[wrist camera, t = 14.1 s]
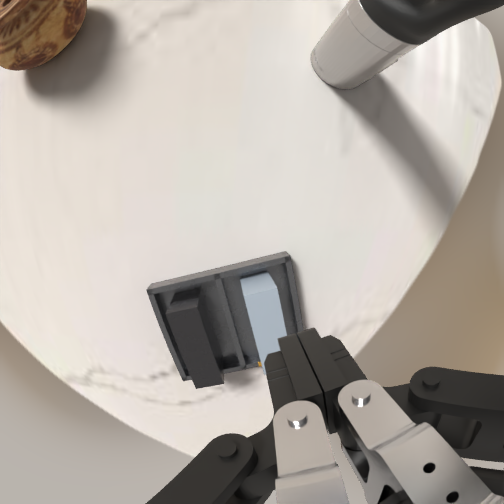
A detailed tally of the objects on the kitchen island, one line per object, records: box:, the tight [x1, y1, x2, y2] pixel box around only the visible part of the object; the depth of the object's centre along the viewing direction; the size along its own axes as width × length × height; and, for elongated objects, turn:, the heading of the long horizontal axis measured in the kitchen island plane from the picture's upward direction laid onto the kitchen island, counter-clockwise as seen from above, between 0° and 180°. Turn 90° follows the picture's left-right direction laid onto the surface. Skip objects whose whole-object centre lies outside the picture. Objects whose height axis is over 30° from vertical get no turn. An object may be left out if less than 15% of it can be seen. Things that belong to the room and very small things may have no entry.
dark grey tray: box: [147, 251, 304, 389], centre depth 36 cm, size 20×16×8 cm
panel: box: [240, 271, 287, 375], centre depth 36 cm, size 4×12×7 cm, turn 13°
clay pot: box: [0, 0, 87, 70], centre depth 17 cm, size 19×19×20 cm
